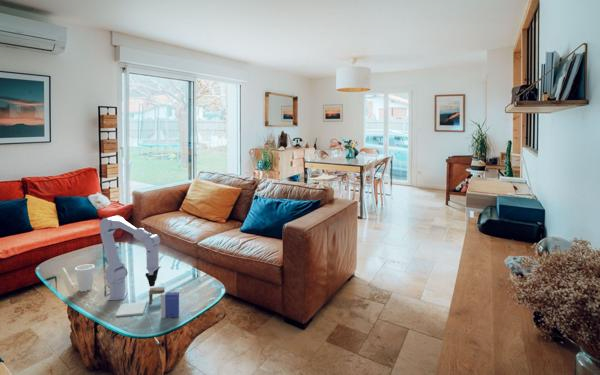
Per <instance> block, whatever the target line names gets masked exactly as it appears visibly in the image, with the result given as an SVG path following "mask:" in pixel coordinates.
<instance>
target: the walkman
mask: <svg viewBox="0 0 600 375" xmlns="http://www.w3.org/2000/svg"><path fill="white" fill-rule="evenodd" d="M178 315H179V316H180V292H177V291H173V292H171V291H169V292H167V291H166V292H164V293H162V294H160V316H161V318H160V319H165V318H167V319H168V317H178V318H179V316H178Z"/></svg>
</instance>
